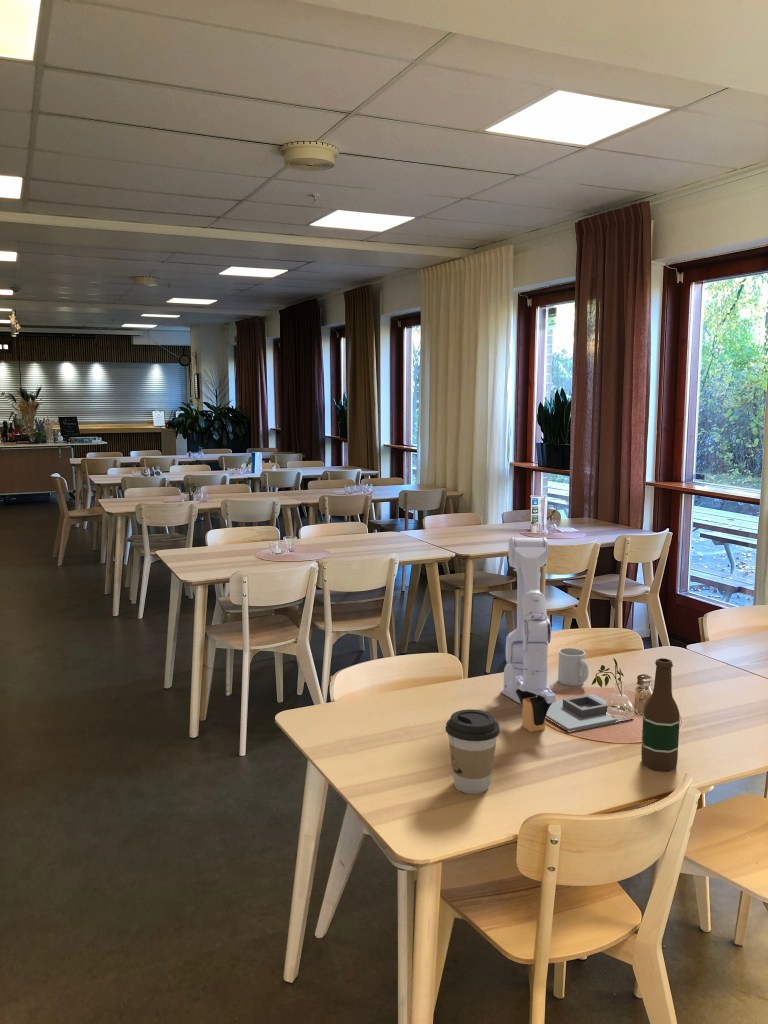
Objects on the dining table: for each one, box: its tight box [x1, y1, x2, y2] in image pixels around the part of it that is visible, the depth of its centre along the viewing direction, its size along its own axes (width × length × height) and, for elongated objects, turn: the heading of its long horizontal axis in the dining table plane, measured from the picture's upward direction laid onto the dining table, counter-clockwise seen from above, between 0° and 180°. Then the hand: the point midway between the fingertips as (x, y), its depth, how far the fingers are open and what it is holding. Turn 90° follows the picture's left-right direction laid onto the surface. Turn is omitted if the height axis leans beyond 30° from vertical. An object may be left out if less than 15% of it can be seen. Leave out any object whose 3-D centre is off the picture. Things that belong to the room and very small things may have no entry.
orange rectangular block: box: [521, 696, 546, 733], centre depth 199 cm, size 4×4×7 cm
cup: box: [557, 647, 589, 687], centre depth 229 cm, size 7×10×9 cm
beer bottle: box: [640, 657, 681, 773], centre depth 178 cm, size 8×8×24 cm
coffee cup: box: [445, 708, 501, 795], centre depth 169 cm, size 11×11×15 cm
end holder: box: [546, 693, 635, 732], centre depth 208 cm, size 16×20×3 cm
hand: (533, 721), depth 199 cm, fingers closed on orange rectangular block, 4 cm apart
